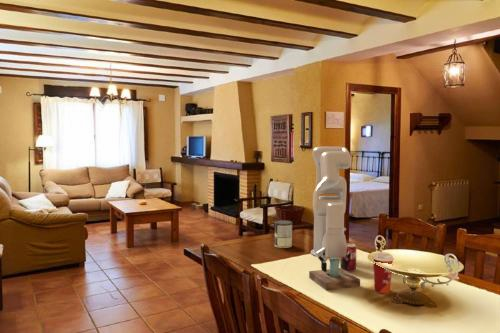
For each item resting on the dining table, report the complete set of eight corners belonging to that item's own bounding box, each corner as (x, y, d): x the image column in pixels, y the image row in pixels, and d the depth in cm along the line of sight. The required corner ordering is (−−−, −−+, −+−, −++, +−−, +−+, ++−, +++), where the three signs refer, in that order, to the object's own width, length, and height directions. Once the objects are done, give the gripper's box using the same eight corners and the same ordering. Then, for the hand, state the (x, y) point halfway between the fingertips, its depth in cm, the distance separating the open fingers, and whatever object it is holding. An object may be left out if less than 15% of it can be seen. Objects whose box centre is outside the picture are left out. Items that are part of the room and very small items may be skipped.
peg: (335, 279, 181) (336, 257, 180) (340, 283, 177) (340, 260, 176) (327, 280, 179) (327, 258, 179) (332, 283, 176) (332, 261, 175)
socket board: (340, 274, 188) (340, 268, 188) (360, 286, 173) (360, 279, 173) (309, 277, 183) (309, 271, 183) (326, 290, 168) (326, 283, 168)
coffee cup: (390, 295, 162) (391, 258, 161) (369, 291, 167) (370, 255, 166) (395, 289, 169) (396, 253, 168) (375, 285, 174) (375, 250, 173)
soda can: (357, 268, 197) (357, 244, 196) (354, 273, 190) (355, 247, 189) (342, 266, 200) (342, 242, 199) (338, 270, 193) (339, 245, 192)
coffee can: (270, 245, 239) (270, 221, 238) (282, 242, 246) (282, 219, 245) (283, 249, 231) (283, 224, 230) (295, 245, 238) (295, 222, 237)
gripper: (347, 228, 183) (347, 265, 184) (312, 230, 178) (312, 269, 179) (357, 231, 176) (356, 270, 177) (320, 234, 170) (320, 274, 172)
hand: (334, 270), depth 178 cm, fingers open, 9 cm apart
